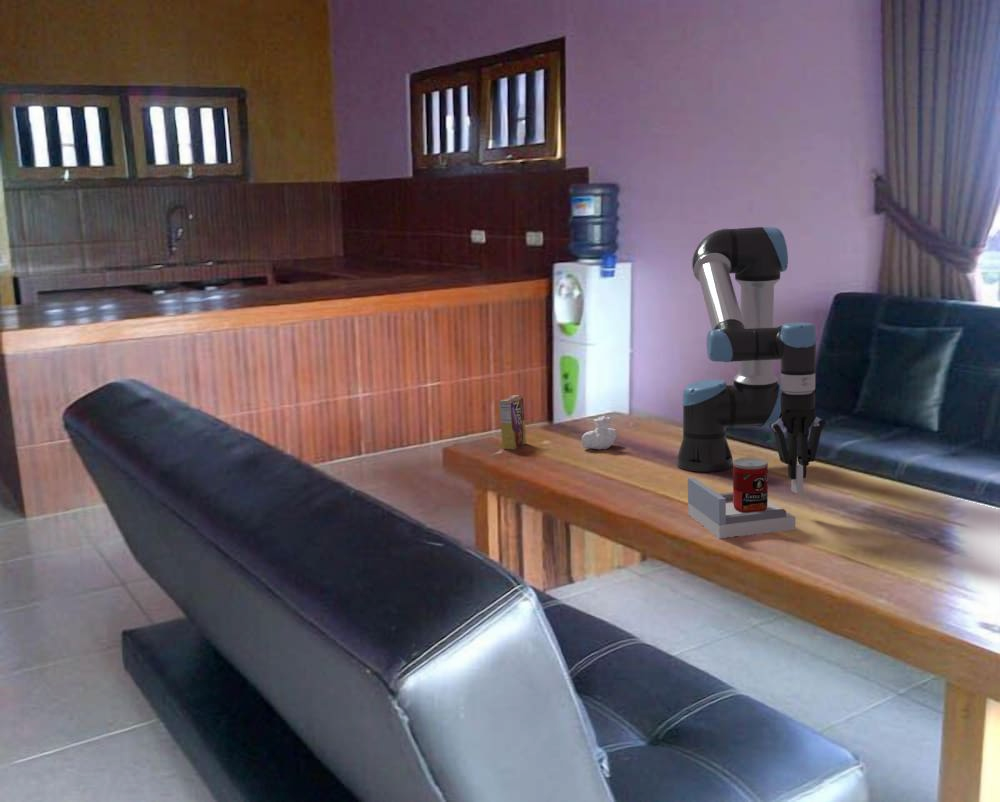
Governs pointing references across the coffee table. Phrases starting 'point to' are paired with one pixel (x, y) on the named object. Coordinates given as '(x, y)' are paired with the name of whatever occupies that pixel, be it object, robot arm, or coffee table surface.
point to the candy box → (512, 422)
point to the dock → (733, 514)
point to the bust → (600, 435)
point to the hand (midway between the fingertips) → (797, 492)
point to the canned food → (750, 485)
